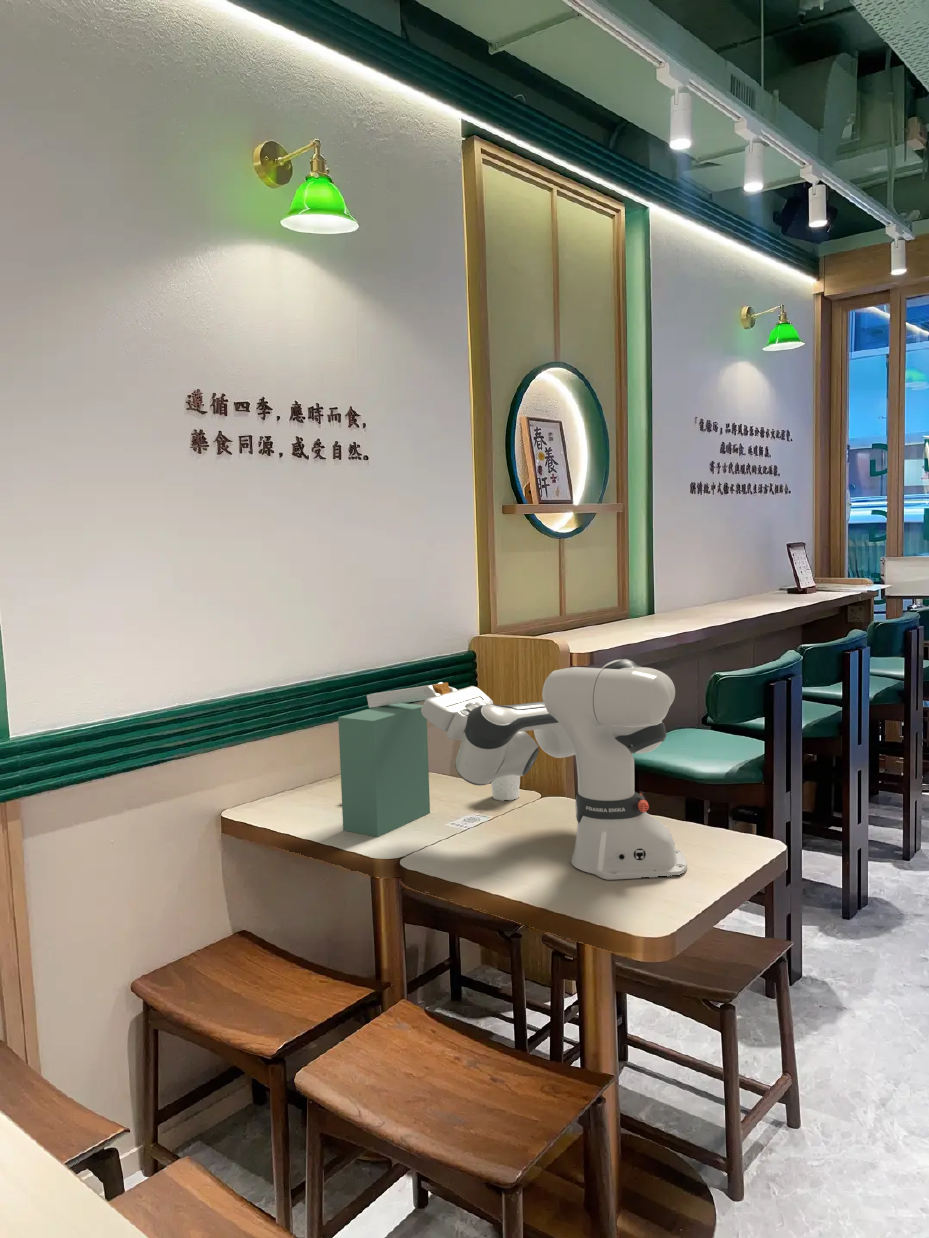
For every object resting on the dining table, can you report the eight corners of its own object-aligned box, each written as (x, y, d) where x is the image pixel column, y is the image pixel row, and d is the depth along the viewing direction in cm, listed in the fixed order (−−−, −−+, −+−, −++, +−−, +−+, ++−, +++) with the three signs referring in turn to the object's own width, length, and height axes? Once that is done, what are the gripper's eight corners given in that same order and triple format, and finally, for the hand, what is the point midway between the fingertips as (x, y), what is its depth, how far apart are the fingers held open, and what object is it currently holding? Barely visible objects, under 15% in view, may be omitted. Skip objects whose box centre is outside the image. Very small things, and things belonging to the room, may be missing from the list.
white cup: (487, 801, 231) (486, 761, 230) (492, 792, 238) (491, 754, 237) (519, 801, 229) (518, 762, 228) (523, 793, 237) (522, 754, 236)
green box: (430, 812, 222) (426, 705, 220) (377, 836, 206) (373, 720, 203) (396, 807, 228) (392, 702, 225) (343, 830, 211) (338, 717, 209)
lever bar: (450, 695, 212) (447, 682, 212) (442, 697, 209) (440, 684, 209) (376, 705, 224) (374, 693, 224) (368, 707, 222) (366, 695, 222)
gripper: (507, 701, 214) (462, 668, 220) (457, 717, 197) (410, 681, 203) (496, 723, 216) (452, 690, 222) (446, 741, 199) (400, 705, 205)
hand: (432, 686), depth 213 cm, fingers closed on lever bar, 3 cm apart
